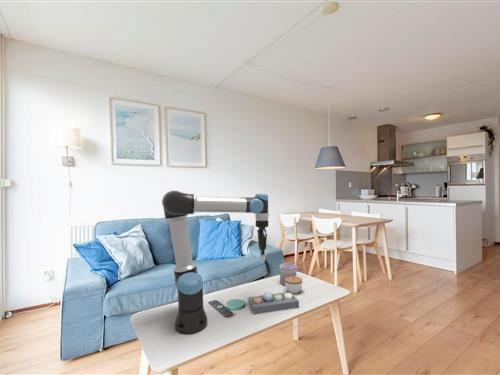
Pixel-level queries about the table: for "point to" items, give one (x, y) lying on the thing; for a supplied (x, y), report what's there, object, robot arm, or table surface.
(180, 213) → the robot arm
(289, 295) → the cream button
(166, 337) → the table surface
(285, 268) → the can
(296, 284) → the lidded jar
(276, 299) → the sage button
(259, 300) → the terracotta button
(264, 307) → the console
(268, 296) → the pale blue button
